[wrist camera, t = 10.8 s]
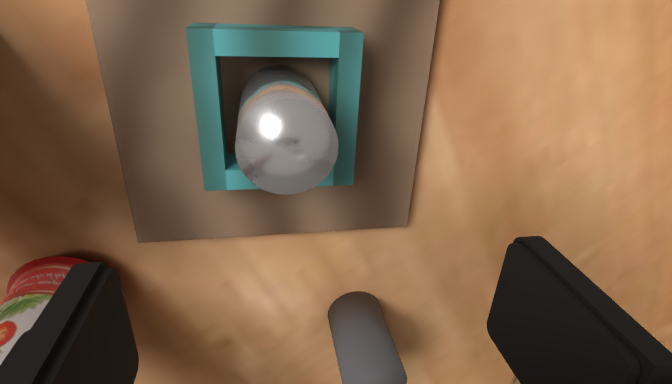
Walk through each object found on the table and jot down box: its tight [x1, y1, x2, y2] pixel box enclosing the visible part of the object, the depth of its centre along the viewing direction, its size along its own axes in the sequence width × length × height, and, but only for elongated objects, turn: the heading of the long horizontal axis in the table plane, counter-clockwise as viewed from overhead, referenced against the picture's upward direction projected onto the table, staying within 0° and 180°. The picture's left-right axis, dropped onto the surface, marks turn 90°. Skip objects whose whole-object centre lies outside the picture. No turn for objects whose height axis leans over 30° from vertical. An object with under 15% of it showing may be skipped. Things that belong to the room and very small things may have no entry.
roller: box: [328, 292, 407, 384], centre depth 31 cm, size 4×4×7 cm
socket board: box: [86, 0, 440, 243], centre depth 23 cm, size 18×18×4 cm
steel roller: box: [235, 64, 338, 195], centre depth 21 cm, size 4×4×7 cm
